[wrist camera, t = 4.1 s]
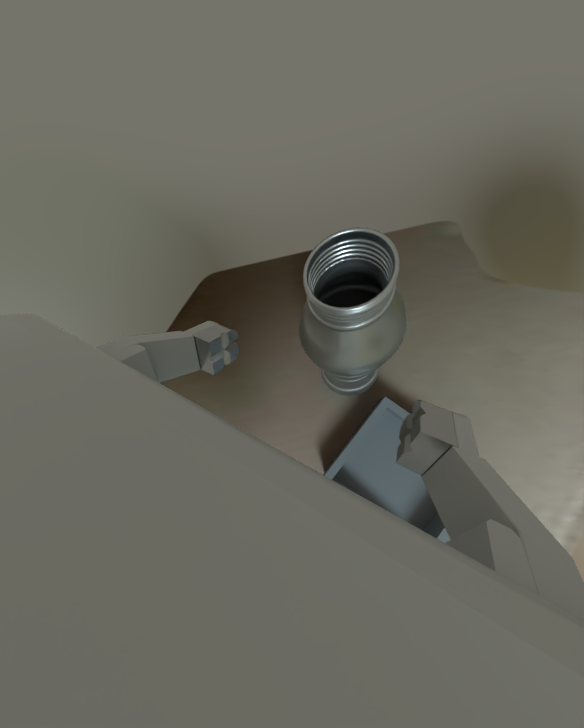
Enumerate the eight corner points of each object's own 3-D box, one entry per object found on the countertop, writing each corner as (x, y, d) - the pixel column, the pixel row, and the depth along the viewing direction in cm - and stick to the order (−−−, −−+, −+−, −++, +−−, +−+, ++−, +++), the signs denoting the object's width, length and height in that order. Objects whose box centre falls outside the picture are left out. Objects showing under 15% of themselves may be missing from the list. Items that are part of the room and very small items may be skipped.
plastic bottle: (313, 379, 28) (238, 303, 9) (342, 337, 28) (327, 179, 9) (356, 408, 26) (375, 389, 7) (387, 362, 26) (487, 223, 7)
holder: (412, 556, 21) (422, 577, 18) (324, 472, 25) (321, 479, 22) (478, 467, 21) (498, 475, 18) (381, 398, 25) (385, 396, 22)
